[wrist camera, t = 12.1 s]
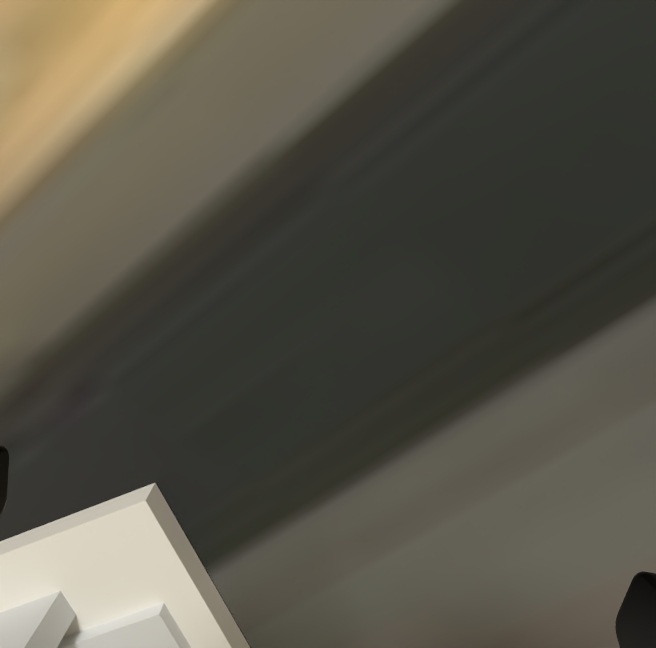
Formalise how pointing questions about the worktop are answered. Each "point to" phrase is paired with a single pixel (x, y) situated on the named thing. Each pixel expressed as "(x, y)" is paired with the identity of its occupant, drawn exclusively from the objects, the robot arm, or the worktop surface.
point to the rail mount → (111, 582)
